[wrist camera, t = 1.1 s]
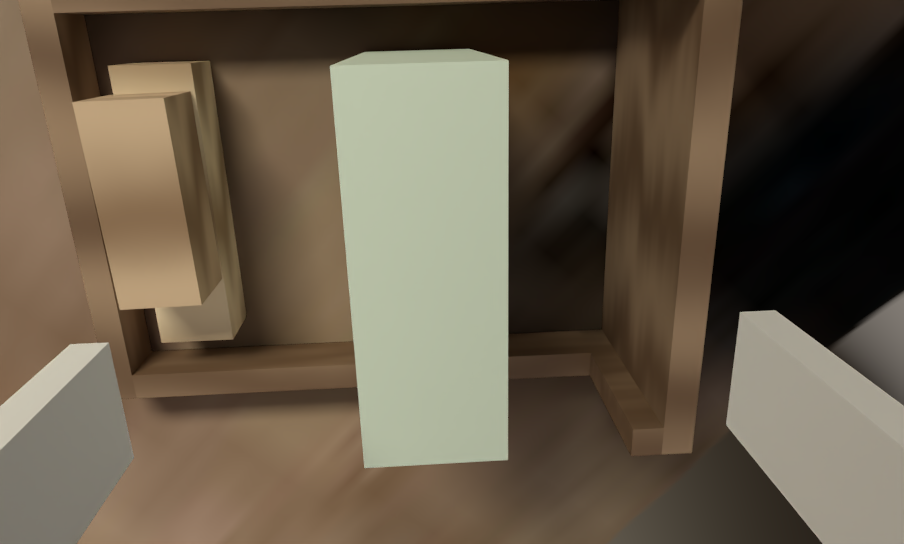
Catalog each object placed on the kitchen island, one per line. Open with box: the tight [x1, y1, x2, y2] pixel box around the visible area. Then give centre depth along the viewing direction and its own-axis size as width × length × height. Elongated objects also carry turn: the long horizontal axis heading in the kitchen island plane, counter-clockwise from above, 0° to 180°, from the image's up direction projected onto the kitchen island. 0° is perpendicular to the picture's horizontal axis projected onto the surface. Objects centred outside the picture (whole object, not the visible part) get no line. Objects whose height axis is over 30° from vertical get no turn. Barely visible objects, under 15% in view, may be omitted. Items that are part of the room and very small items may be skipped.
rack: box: [18, 0, 743, 456], centre depth 27 cm, size 18×25×9 cm
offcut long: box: [108, 61, 247, 343], centre depth 30 cm, size 12×3×3 cm, turn 2°
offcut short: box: [72, 91, 222, 310], centre depth 26 cm, size 8×3×3 cm, turn 2°
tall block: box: [330, 49, 509, 468], centre depth 25 cm, size 12×4×13 cm, turn 2°
